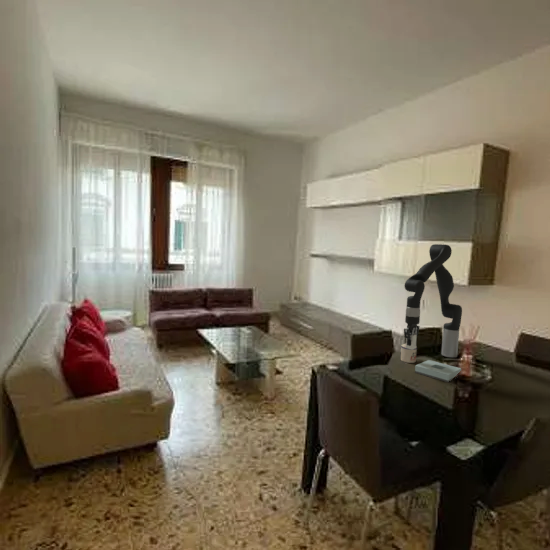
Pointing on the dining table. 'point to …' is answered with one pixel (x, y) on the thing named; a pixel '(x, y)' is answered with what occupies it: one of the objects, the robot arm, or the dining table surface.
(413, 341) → the cream block with knob
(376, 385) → the dining table surface
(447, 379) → the outlet block
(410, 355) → the teacup with lid
